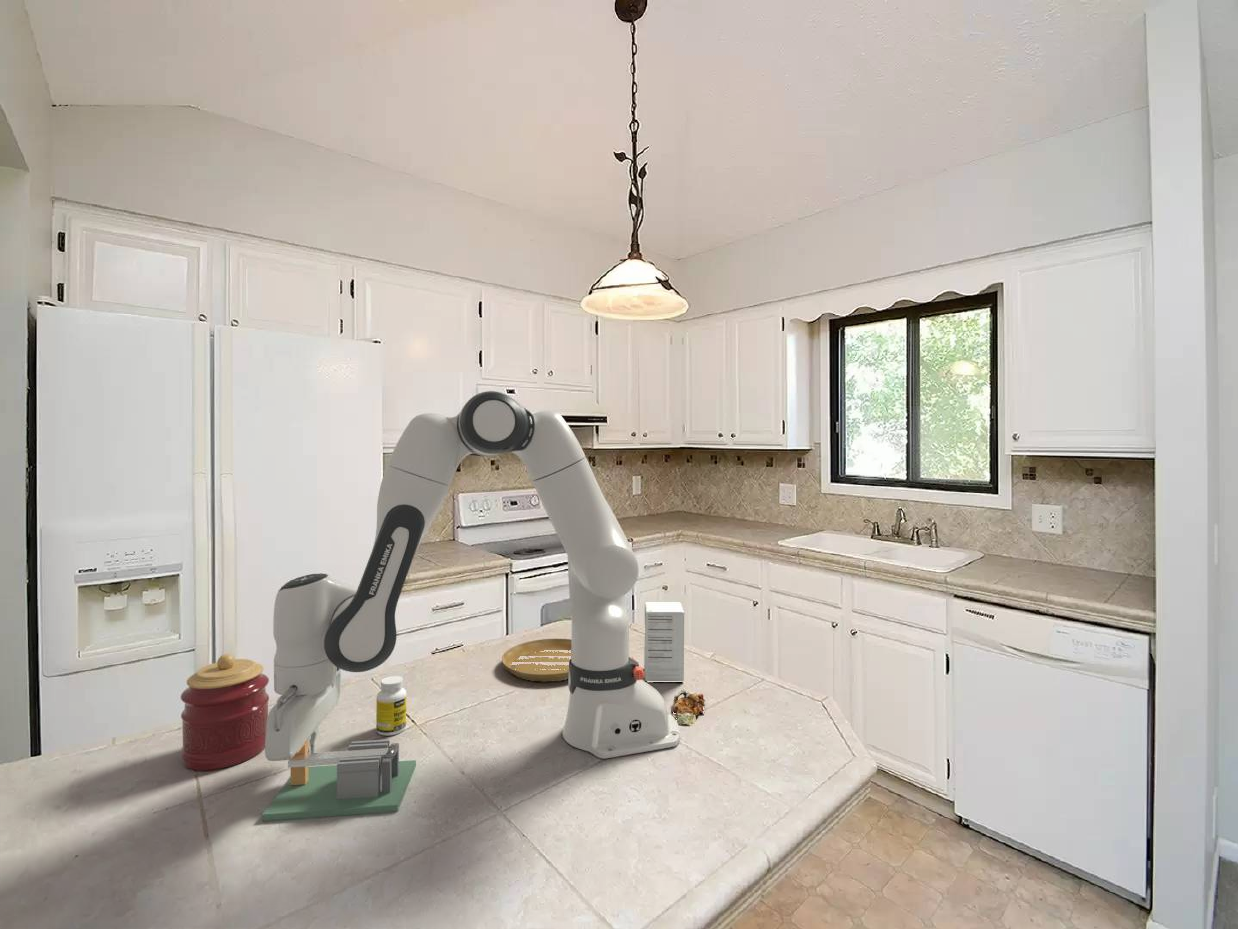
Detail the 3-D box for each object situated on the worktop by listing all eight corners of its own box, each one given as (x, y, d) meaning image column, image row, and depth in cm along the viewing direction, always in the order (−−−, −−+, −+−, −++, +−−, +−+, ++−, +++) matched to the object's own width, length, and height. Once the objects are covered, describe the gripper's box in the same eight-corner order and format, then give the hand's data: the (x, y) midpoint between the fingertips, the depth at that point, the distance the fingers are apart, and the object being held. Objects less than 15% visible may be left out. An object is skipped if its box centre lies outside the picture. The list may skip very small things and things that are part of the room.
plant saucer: (511, 693, 128) (511, 679, 128) (494, 657, 150) (494, 644, 150) (612, 678, 136) (612, 665, 136) (582, 646, 159) (582, 634, 159)
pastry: (670, 726, 113) (670, 709, 113) (673, 700, 125) (673, 684, 125) (705, 729, 112) (705, 711, 112) (705, 702, 124) (705, 686, 124)
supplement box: (684, 684, 133) (685, 612, 133) (645, 683, 133) (645, 612, 133) (680, 668, 143) (681, 601, 142) (643, 667, 143) (644, 601, 142)
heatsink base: (415, 766, 98) (415, 729, 98) (397, 811, 86) (397, 769, 86) (298, 773, 96) (298, 735, 95) (262, 821, 83) (261, 778, 83)
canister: (285, 743, 105) (284, 648, 105) (210, 780, 93) (208, 674, 93) (241, 728, 111) (240, 638, 110) (165, 761, 99) (163, 661, 98)
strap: (397, 753, 93) (397, 744, 93) (392, 763, 90) (392, 754, 90) (295, 760, 91) (295, 751, 91) (286, 770, 88) (286, 761, 88)
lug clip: (308, 780, 92) (308, 736, 92) (297, 795, 88) (297, 749, 88) (293, 781, 92) (293, 737, 91) (282, 796, 88) (282, 750, 87)
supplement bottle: (396, 738, 107) (395, 686, 107) (370, 735, 108) (370, 684, 108) (412, 724, 113) (411, 675, 112) (387, 721, 114) (387, 673, 113)
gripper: (297, 702, 83) (298, 794, 84) (347, 652, 104) (348, 726, 104) (251, 704, 83) (253, 797, 83) (310, 653, 103) (311, 728, 103)
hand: (306, 757), depth 94 cm, fingers closed
